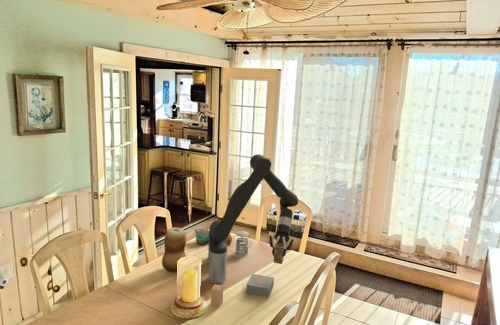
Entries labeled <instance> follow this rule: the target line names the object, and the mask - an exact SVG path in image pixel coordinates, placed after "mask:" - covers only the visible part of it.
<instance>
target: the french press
mask: <svg viewBox="0 0 500 325" xmlns="http://www.w3.org/2000/svg"><path fill="white" fill-rule="evenodd" d="M245 218H246V217H245V216H242V217H241V219H242V220H245ZM235 235H236V236H237V239H236V241H235V252H234V253H233V255H234V256H235V257H237V258H247V257H249V256H250V253H249V252H248V251H249V249H250V248H251V247H252V239H251V238H250V237H249V235H250V233H249V232H247V231H246V230H239V231H238V232H236V234H235ZM249 243H250V244H249Z"/></svg>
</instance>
